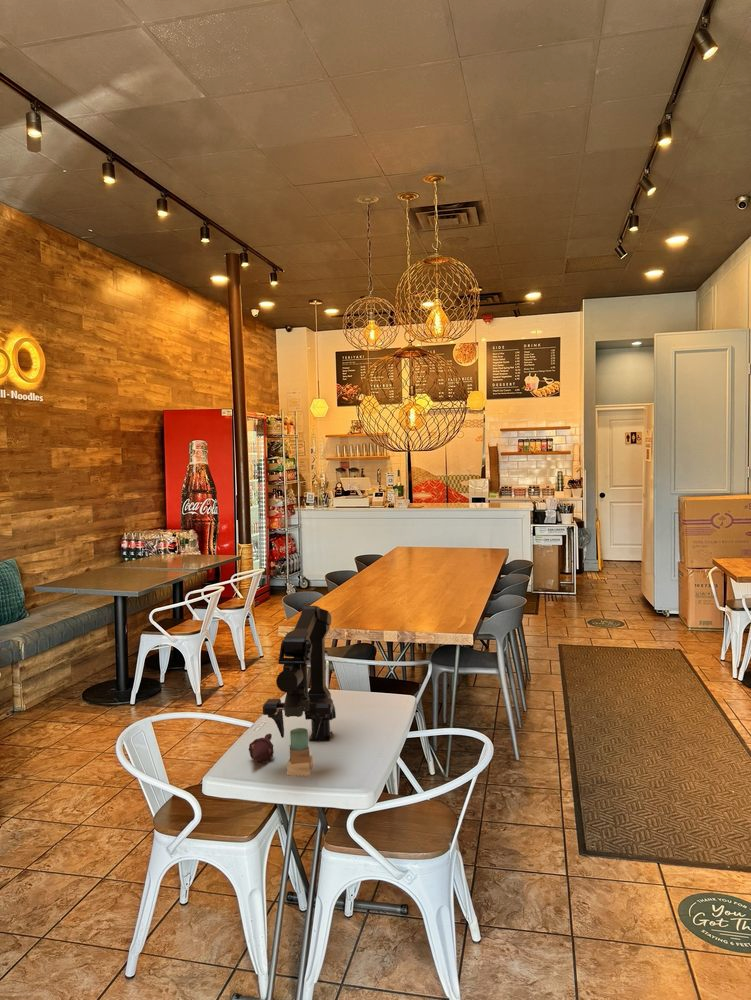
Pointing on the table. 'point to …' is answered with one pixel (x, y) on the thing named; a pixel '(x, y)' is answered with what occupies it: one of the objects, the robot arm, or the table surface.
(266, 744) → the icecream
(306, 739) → the sage green cylinder
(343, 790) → the table surface
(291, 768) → the tower base
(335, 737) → the table surface
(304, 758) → the tower top
